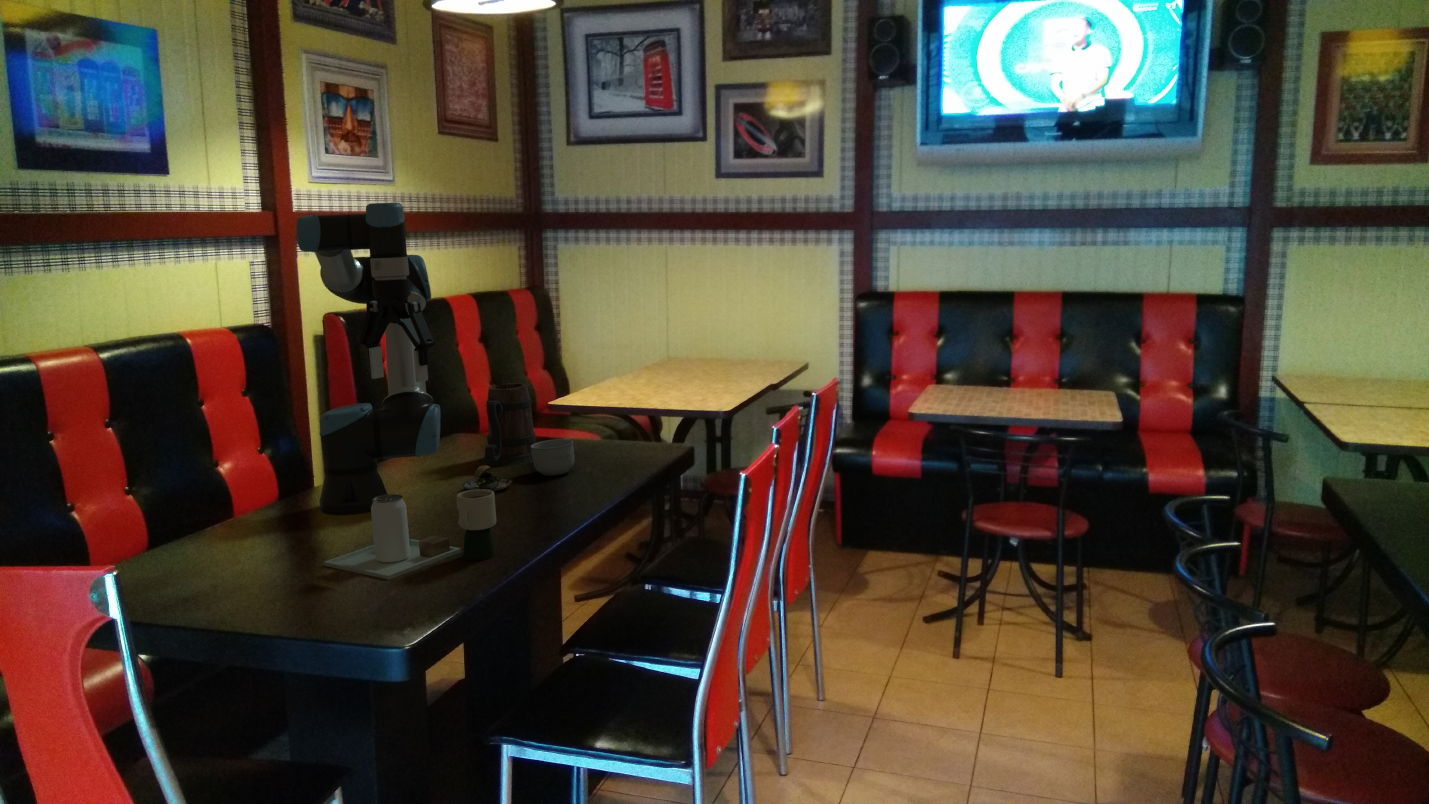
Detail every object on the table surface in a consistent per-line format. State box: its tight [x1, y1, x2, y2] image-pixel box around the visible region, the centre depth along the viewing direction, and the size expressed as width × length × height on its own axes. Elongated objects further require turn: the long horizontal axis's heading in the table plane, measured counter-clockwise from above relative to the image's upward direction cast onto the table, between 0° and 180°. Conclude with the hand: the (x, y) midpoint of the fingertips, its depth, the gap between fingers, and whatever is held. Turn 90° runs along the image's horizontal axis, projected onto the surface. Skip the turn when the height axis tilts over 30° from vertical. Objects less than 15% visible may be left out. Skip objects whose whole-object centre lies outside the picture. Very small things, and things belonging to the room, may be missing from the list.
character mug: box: [455, 489, 497, 561], centre depth 211 cm, size 11×7×13 cm, turn 166°
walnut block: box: [419, 535, 451, 558], centre depth 214 cm, size 4×4×3 cm
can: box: [370, 493, 410, 563], centre depth 211 cm, size 6×6×12 cm
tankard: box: [481, 382, 537, 467], centre depth 295 cm, size 24×17×20 cm
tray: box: [323, 538, 462, 581], centre depth 212 cm, size 18×18×2 cm
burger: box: [462, 459, 513, 492], centre depth 266 cm, size 12×12×8 cm
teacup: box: [531, 437, 575, 477], centre depth 281 cm, size 14×11×8 cm
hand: (399, 379), depth 233 cm, fingers open, 13 cm apart
